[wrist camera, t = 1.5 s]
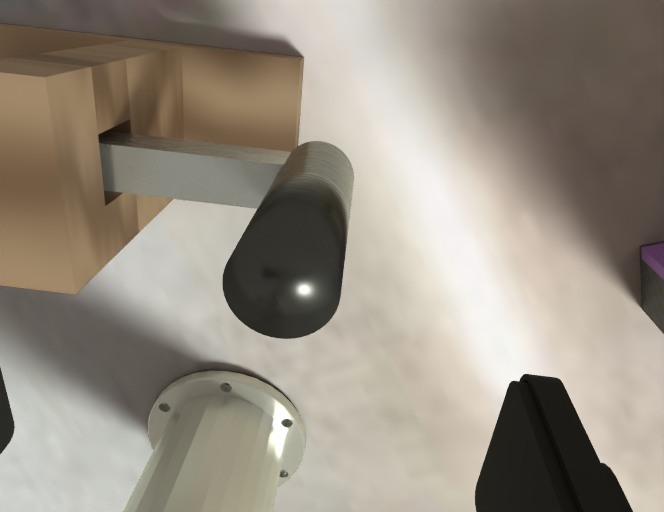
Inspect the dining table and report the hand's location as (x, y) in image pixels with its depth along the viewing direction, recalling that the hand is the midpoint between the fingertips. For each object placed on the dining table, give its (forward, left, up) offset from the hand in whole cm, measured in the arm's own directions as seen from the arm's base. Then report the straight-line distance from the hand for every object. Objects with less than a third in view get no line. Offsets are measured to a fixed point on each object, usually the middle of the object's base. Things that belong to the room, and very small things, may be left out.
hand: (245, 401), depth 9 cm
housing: (0, +13, -24) cm, 27 cm away
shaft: (0, +9, -15) cm, 18 cm away
